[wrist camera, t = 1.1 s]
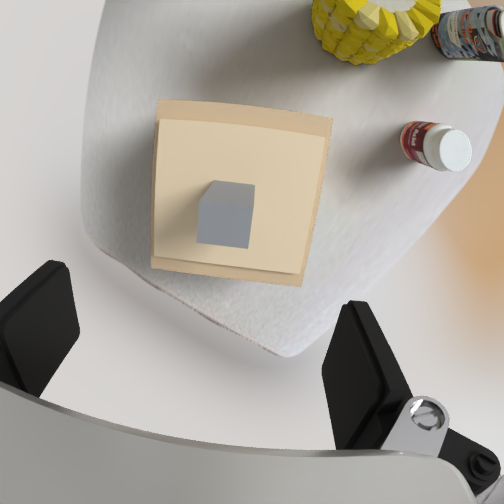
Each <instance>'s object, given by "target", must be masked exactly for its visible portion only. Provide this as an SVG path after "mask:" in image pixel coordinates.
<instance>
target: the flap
mask: <svg viewBox="0 0 504 504" xmlns="http://www.w3.org/2000/svg"><path fill="white" fill-rule="evenodd" d="M324 142H325V137H321V136H316V135H310V134H304V133H298V132H292V131H286V130H279V129H272V128H264V127H256V126H248V125H239V124H230V123H219V122H207V121H193V120H176V119H160V122H159V134H158V147H157V162H156V181H155V211H154V256H158V257H166V258H173V259H181V260H188V261H196V262H204V263H212V264H220V265H228V266H236V267H244V268H252V269H260V270H268V271H277V272H285V273H294V274H300V270H301V266H302V261H303V256H304V251H305V246H306V241H307V236H308V231H309V226H310V221H311V216H312V211H313V205H314V200H315V195H316V189H317V184H318V178H319V172H320V166H321V161H322V155H323V149H324Z"/></svg>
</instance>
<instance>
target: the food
mask: <svg viewBox="0 0 504 504" xmlns="http://www.w3.org/2000/svg"><path fill="white" fill-rule="evenodd" d="M313 1H314V2H313V3H312V4H313V6H312V7H311V9H312V16H311V20H312V24H313V27H314V34H315V36H316V38H317V39H318V40H321V41H322V49H324V50H326V51H328V52H330V53H333V54H334V55H335V57H336V58H338V59H340V60H341V61H349V62H351V63H352V64H354V65H358V64H361V63H363V64H375V63H376V62H378V61H380V60H382V59H383V58H386V59H388V58H389V57H390V56H391V55H392V54H396V53H397V52H400V51H401V50H403V49H405V48H406V47H407V46H408V47H410V46H411V45H412V44H413V43H414V42H416V41H417V40H418V39H420V38H423V37H424V36H425V35H426V34H427V33H428V32H429V30H430V29H431V27H432V26H433V25H434V24H435V23H439V17H440V11H441V8H440V6H441V0H313Z"/></svg>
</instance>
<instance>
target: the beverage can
mask: <svg viewBox="0 0 504 504" xmlns="http://www.w3.org/2000/svg"><path fill="white" fill-rule="evenodd" d="M430 30H431V36H432V39H433V42H434V44H435V46H436V47H437V49H438V50H439V52H440V53H441V54H442V55H444V56H445V57H446V58H448V59H451V60H468V61H494V62H504V8H502V7H500V6H496V5H494V6H485V7H477V8H470V9H464V10H458V11H452V12H447V13H442V14H440V17H439V23H435V24H434V25H433V26H432V27H431V29H430Z"/></svg>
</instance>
